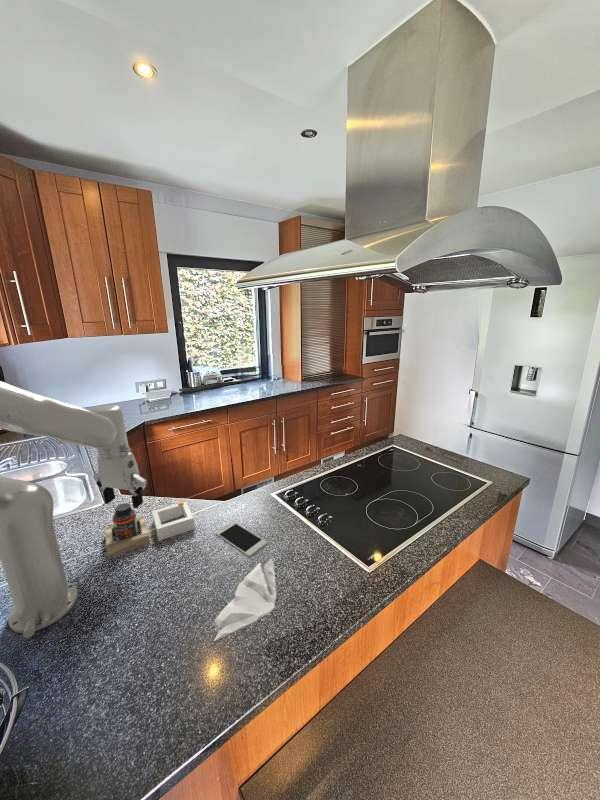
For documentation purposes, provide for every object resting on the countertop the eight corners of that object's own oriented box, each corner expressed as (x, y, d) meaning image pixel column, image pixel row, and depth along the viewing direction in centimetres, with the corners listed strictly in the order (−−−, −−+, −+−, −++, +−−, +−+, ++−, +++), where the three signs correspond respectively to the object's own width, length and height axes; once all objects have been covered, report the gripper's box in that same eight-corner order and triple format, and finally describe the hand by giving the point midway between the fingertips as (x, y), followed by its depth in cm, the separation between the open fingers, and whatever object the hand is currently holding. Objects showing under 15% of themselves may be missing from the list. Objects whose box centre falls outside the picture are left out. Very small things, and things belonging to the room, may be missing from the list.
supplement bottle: (117, 549, 93) (111, 515, 90) (116, 537, 98) (110, 504, 95) (140, 541, 96) (135, 508, 93) (137, 530, 101) (132, 498, 98)
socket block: (194, 528, 101) (193, 516, 100) (158, 541, 96) (156, 527, 95) (187, 511, 110) (185, 499, 109) (153, 521, 105) (151, 509, 104)
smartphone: (249, 558, 90) (249, 555, 89) (215, 535, 99) (215, 532, 99) (267, 544, 95) (267, 541, 95) (233, 523, 105) (233, 521, 104)
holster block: (149, 543, 95) (148, 535, 94) (108, 557, 90) (106, 548, 89) (145, 524, 104) (144, 516, 103) (107, 535, 99) (105, 527, 98)
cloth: (230, 661, 64) (230, 653, 63) (187, 624, 71) (186, 616, 71) (305, 576, 84) (305, 568, 83) (265, 554, 92) (265, 547, 91)
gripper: (149, 446, 91) (158, 499, 96) (98, 441, 95) (109, 492, 100) (130, 459, 84) (140, 515, 89) (76, 452, 88) (89, 507, 93)
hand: (124, 503), depth 94 cm, fingers open, 9 cm apart
